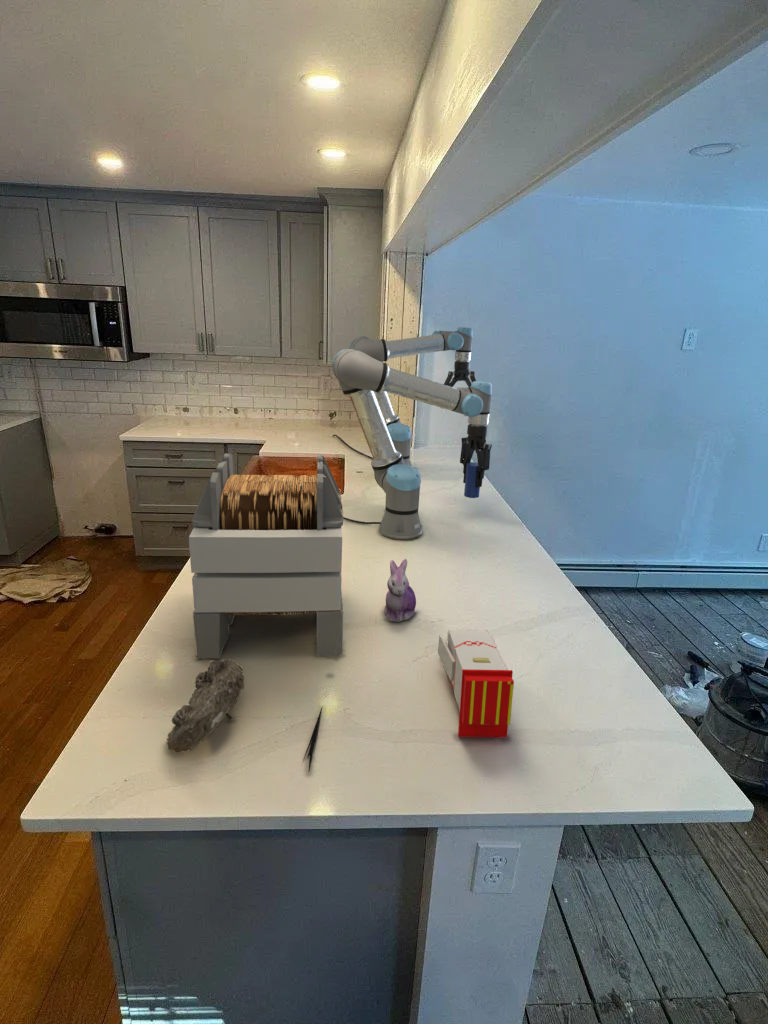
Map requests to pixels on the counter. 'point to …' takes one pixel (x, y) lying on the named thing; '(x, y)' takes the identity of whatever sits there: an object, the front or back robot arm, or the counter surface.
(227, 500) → the transformer
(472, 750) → the counter surface
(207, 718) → the fossil
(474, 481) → the can
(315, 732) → the feather
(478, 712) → the toy
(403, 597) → the figurine
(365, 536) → the counter surface
